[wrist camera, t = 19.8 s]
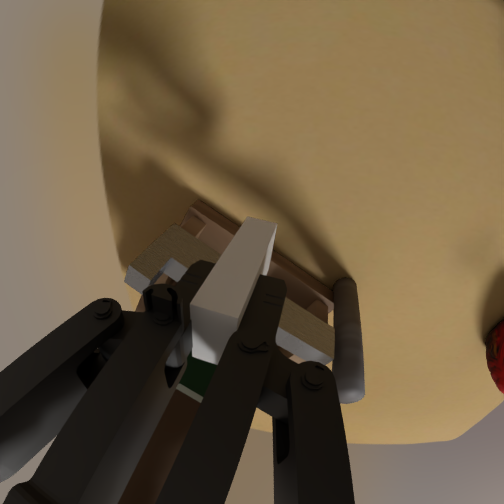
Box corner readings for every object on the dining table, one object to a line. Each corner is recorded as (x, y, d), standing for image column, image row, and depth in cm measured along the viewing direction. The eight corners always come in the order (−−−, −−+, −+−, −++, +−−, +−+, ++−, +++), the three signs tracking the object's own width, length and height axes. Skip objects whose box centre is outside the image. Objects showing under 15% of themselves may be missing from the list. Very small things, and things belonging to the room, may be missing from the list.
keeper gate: (167, 238, 16) (124, 281, 12) (174, 222, 15) (129, 265, 11) (322, 338, 17) (317, 396, 13) (334, 328, 16) (332, 388, 12)
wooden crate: (209, 179, 20) (125, 244, 11) (361, 286, 22) (371, 394, 13) (148, 299, 29) (96, 368, 20) (259, 367, 30) (236, 446, 21)
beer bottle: (184, 322, 27) (70, 529, 6) (190, 261, 22) (18, 527, 2) (257, 348, 26) (175, 578, 6) (279, 292, 22) (173, 610, 2)
